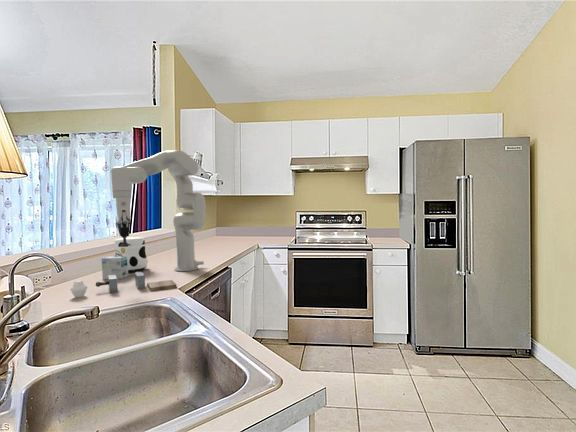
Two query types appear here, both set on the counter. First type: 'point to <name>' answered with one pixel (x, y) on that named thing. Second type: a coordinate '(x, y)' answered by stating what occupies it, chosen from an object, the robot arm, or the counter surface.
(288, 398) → the counter surface
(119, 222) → the sundae
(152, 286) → the walnut board
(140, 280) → the vise
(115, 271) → the light bulb box
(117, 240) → the milk container
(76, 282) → the white faceted knobby ball
